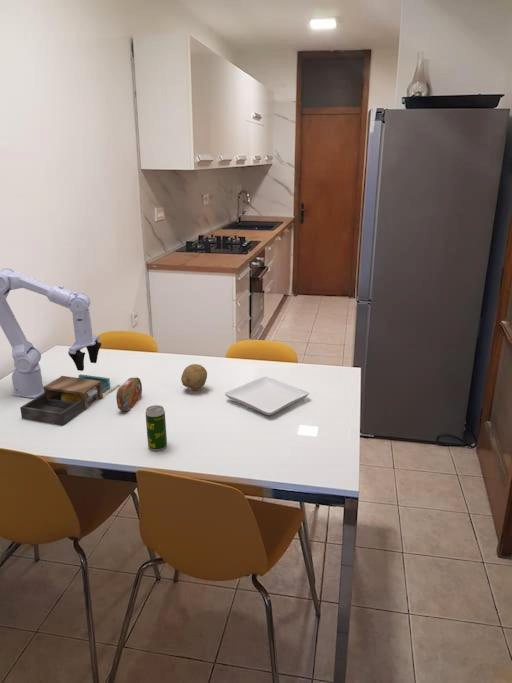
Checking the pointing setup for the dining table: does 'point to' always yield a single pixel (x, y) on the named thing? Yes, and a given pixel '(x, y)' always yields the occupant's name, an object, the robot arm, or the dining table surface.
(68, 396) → the bread roll
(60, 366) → the dining table surface
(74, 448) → the dining table surface
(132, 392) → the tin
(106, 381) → the drawer
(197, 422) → the dining table surface
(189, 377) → the brown potato
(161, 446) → the beer can
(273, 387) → the salad plate
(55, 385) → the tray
